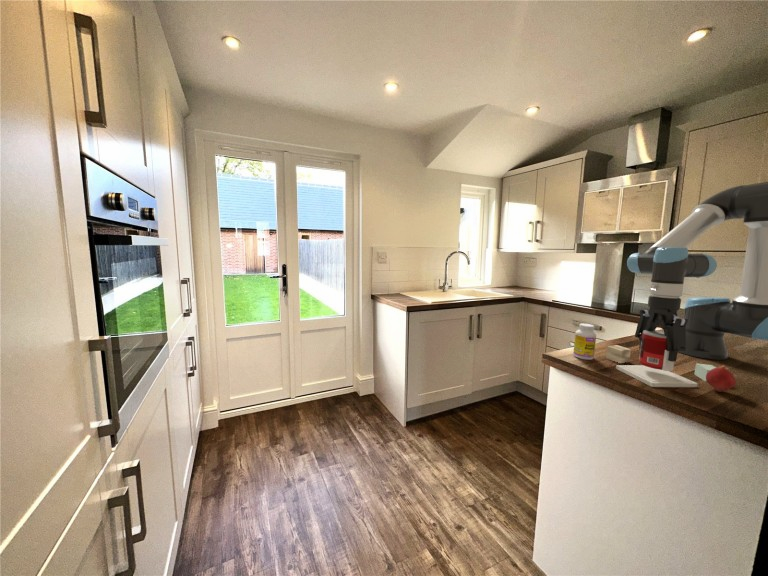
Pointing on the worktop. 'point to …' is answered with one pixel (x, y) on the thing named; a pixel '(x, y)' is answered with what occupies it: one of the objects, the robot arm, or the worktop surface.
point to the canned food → (653, 349)
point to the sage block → (703, 370)
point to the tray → (656, 376)
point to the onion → (720, 379)
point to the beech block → (618, 354)
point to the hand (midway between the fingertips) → (655, 364)
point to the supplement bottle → (585, 342)
